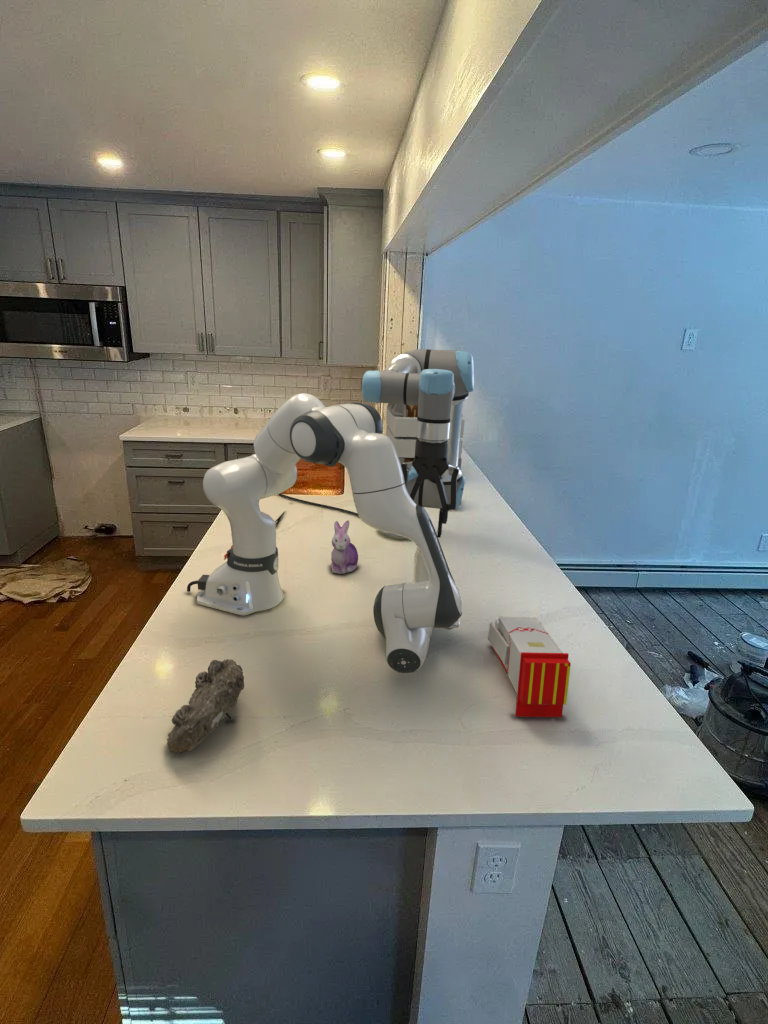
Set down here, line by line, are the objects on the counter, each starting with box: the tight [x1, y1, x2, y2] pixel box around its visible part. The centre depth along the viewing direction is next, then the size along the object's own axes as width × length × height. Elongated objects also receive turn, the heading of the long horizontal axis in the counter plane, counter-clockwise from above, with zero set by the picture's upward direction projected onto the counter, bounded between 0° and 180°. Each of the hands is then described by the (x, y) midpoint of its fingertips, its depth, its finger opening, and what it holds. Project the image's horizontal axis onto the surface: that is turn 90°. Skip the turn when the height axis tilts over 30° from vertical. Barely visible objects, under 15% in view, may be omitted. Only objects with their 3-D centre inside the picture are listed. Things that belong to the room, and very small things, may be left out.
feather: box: [274, 510, 286, 528], centre depth 212 cm, size 2×28×2 cm
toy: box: [487, 616, 572, 718], centre depth 123 cm, size 12×13×30 cm
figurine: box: [330, 519, 359, 575], centre depth 169 cm, size 9×10×15 cm
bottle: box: [412, 546, 431, 583], centre depth 141 cm, size 4×4×24 cm
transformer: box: [385, 403, 465, 472], centre depth 268 cm, size 34×33×41 cm
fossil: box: [166, 658, 245, 754], centre depth 106 cm, size 22×10×15 cm
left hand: (421, 595), depth 144 cm, fingers closed on bottle, 4 cm apart
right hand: (425, 533), depth 137 cm, fingers open, 6 cm apart
